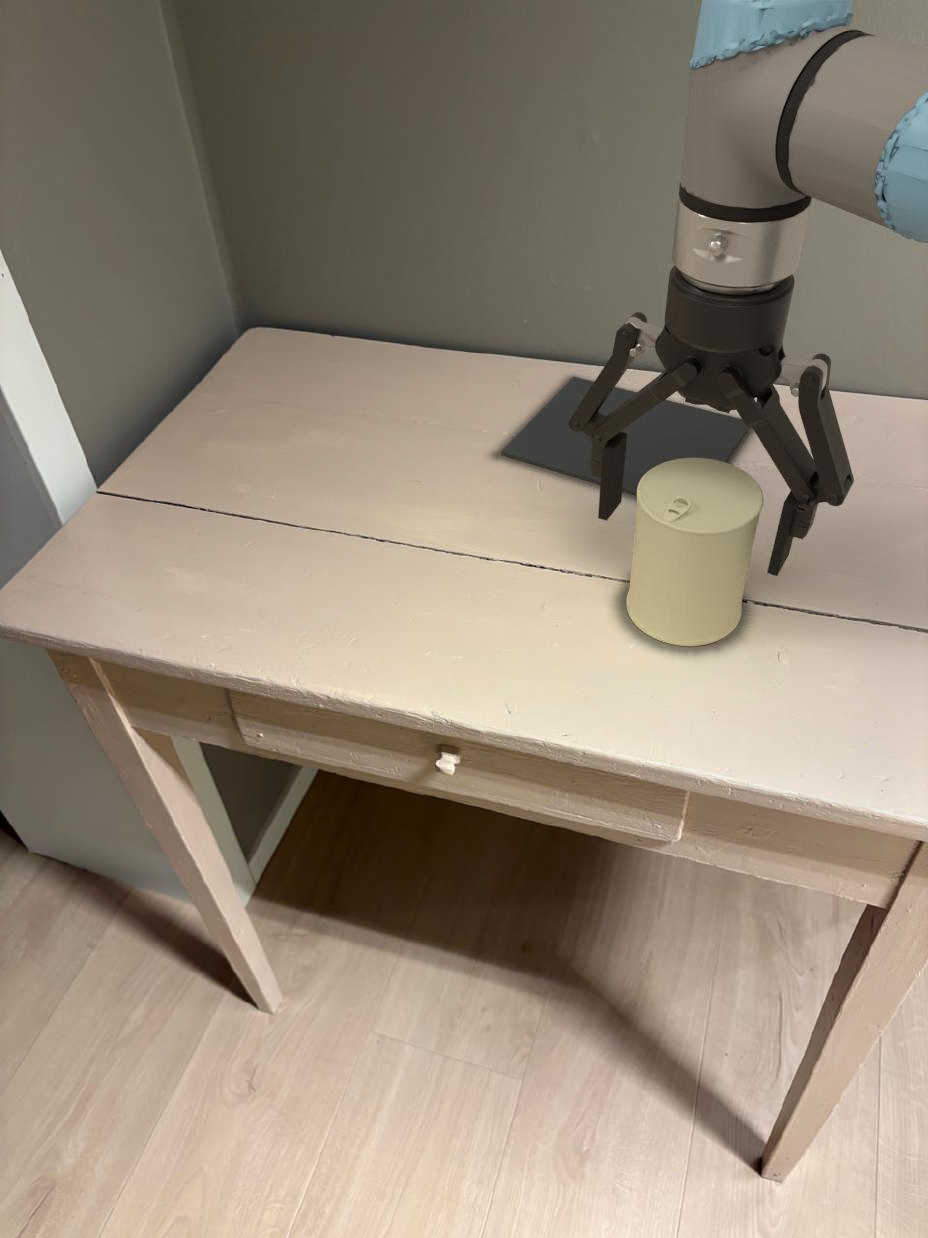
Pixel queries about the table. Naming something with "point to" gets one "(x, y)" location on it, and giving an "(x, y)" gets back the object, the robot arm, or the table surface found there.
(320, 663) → the table surface
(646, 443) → the mat
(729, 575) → the can
